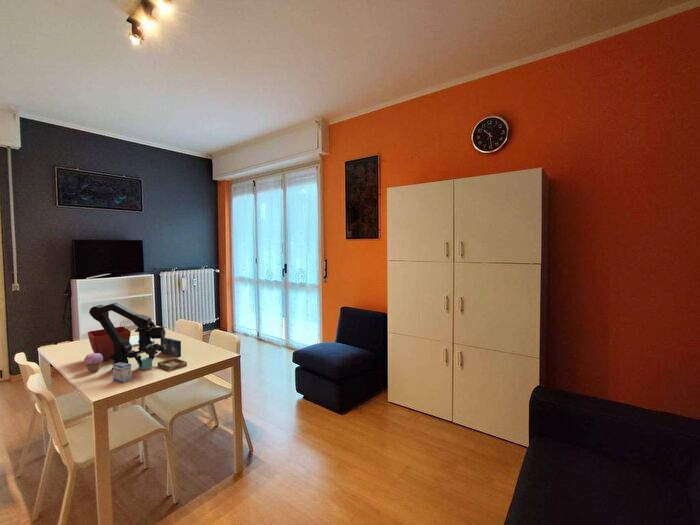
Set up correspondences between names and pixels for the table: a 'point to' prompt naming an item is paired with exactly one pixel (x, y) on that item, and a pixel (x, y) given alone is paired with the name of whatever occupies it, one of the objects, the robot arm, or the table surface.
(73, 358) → the table surface
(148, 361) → the cube
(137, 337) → the file sorter
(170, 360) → the tray
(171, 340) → the vhs cassette tape
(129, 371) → the medicine box
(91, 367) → the cupcake
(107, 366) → the table surface
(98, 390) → the table surface
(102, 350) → the plant pot
